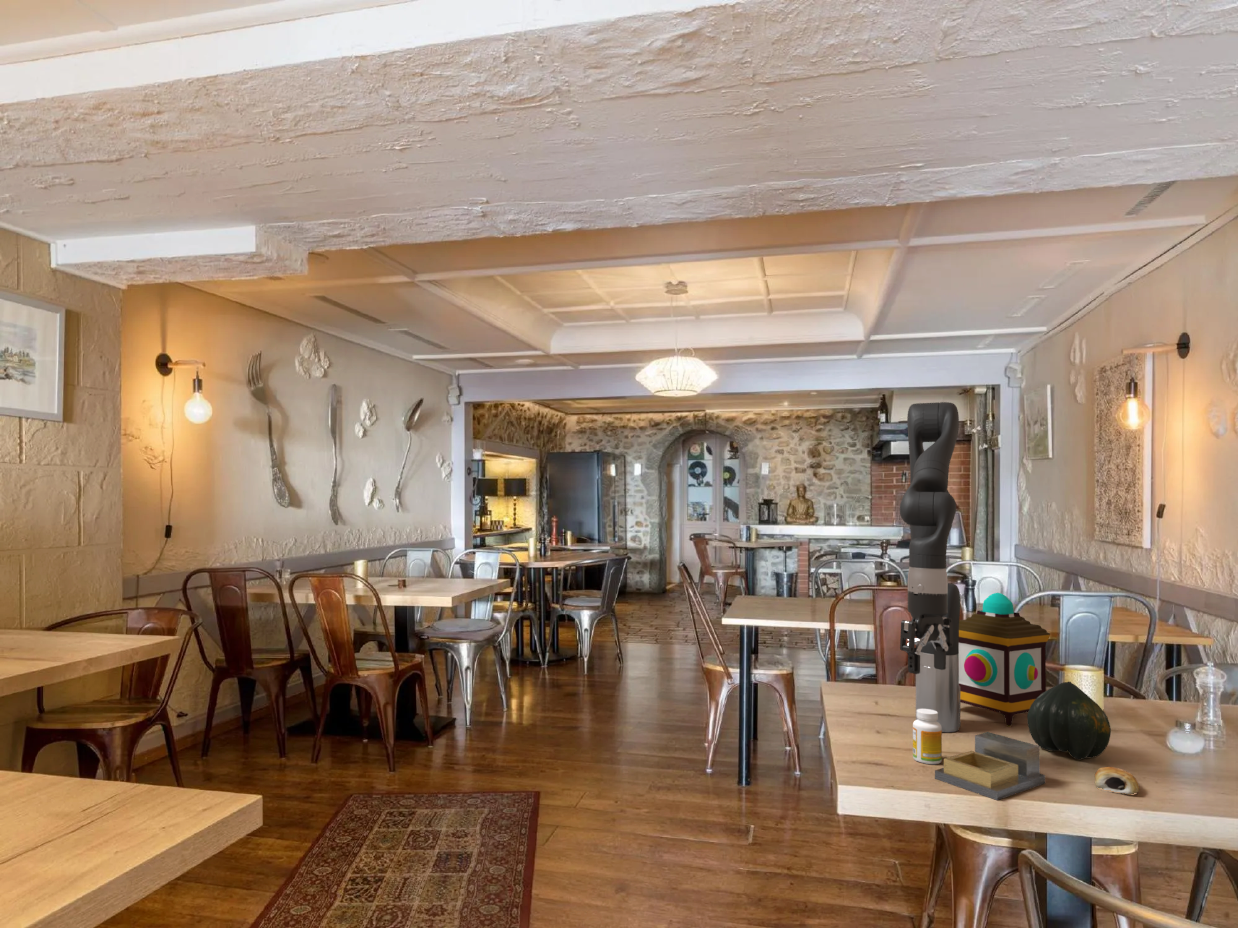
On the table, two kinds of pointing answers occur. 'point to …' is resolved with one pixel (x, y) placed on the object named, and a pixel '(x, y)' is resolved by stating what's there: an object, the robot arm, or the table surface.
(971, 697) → the decorative lantern
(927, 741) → the supplement bottle
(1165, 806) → the table surface
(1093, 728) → the squash
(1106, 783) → the pastry
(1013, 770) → the grey and tan tray
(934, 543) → the robot arm
